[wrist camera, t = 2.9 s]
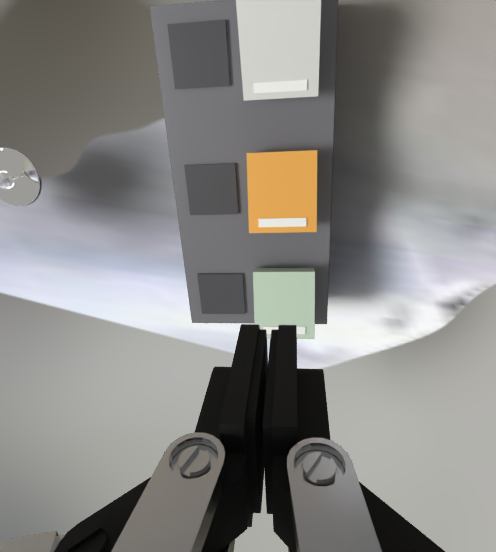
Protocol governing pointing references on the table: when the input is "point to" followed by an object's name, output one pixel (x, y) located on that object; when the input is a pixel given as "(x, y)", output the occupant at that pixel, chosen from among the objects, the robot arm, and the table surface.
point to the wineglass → (17, 178)
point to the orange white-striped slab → (282, 191)
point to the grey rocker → (279, 48)
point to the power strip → (237, 156)
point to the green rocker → (285, 299)
